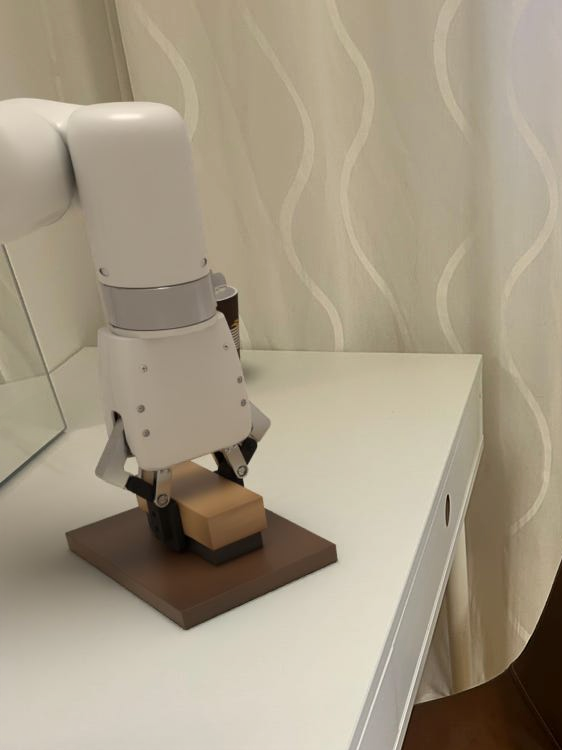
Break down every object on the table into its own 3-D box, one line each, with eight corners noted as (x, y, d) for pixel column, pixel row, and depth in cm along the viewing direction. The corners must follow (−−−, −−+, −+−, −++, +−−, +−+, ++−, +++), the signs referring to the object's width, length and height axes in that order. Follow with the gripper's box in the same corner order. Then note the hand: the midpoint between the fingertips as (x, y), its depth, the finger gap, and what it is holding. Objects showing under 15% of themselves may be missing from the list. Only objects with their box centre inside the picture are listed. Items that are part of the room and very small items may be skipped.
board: (68, 548, 80) (64, 532, 79) (214, 494, 89) (211, 479, 88) (185, 630, 70) (181, 612, 69) (338, 560, 78) (336, 544, 77)
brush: (142, 525, 80) (131, 476, 78) (194, 505, 83) (185, 457, 81) (216, 569, 74) (207, 517, 72) (270, 546, 77) (263, 496, 74)
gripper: (231, 272, 76) (263, 486, 86) (18, 318, 66) (83, 554, 76) (290, 288, 71) (316, 512, 81) (71, 340, 61) (132, 588, 71)
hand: (203, 530), depth 78 cm, fingers closed on brush, 5 cm apart
